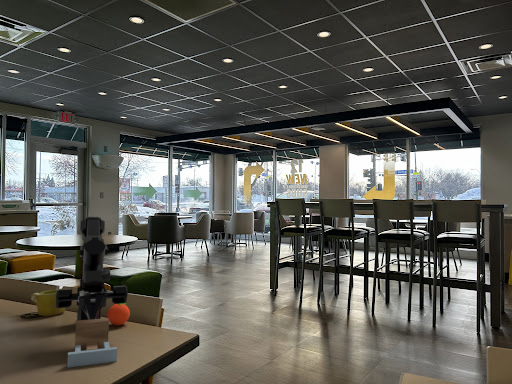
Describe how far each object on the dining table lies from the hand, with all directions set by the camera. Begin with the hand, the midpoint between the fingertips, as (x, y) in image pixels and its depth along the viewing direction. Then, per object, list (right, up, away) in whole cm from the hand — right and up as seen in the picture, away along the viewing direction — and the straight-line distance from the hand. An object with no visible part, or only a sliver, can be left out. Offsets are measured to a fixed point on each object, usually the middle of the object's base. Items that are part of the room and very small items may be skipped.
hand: (92, 323), depth 106 cm
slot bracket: (+4, -6, -9) cm, 11 cm away
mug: (-31, -8, +35) cm, 47 cm away
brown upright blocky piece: (+2, -6, -6) cm, 9 cm away
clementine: (0, -8, +22) cm, 24 cm away
